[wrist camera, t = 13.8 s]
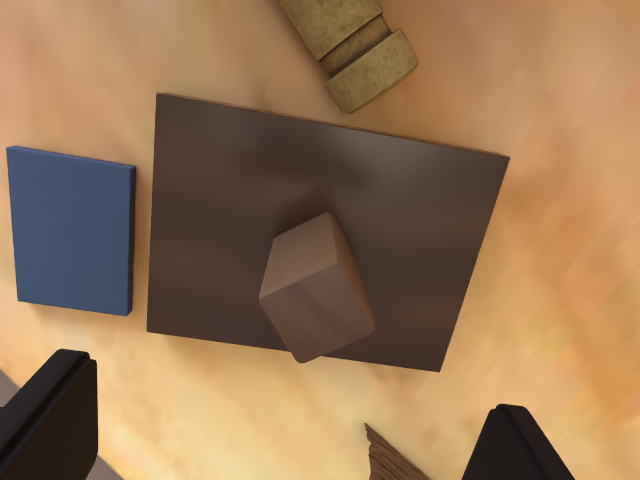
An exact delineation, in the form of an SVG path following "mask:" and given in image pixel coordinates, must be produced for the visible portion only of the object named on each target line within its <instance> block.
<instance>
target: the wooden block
mask: <svg viewBox="0 0 640 480" xmlns="http://www.w3.org/2000/svg"><path fill="white" fill-rule="evenodd" d="M259 301H260V304H261V305H262V307H263V309H264V310H265V312H266V313H267V315H268V317H269V318H270V320H271V321H272V323H273V325H274V326H275V328H276V329H277V331H278V333H279V334H280V336H281V337H282V339H283V341H284V342H285V344H286V345H287V347H288V349H289V350H290V352H291V353H292V355H293V357H294V358H295V360H296V361H297V362H299V363H306V362H308V361H311V360H313V359H315V358H317V357H320V356H322V355H324V354H327V353H329V352H331V351H333V350H336V349H338V348H340V347H343V346H345V345H347V344H349V343H352V342H354V341H356V340H359V339H361V338H363V337H366V336H368V335H370V334H371V333H372V332H373V331H374V321H373V317H372V313H371V310H370V306H369V302H368V299H367V295H366V291H365V288H364V284H363V281H362V277H361V273H360V270H359V266H358V262H357V259H356V258H355V256H354V254H353V252H352V250H351V248H350V246H349V244H348V242H347V240H346V238H345V236H344V234H343V232H342V230H341V228H340V226H339V224H338V222H337V220H336V218H335V216H334V215H333V214H332V213H330V212H326V213H323V214H321V215H319V216H317V217H315V218H313V219H311V220H309V221H307V222H305V223H303V224H301V225H298V226H296V227H294V228H292V229H290V230H288V231H286V232H284V233H282V234H280V235H278V236H276V237H275V239H274V240H273V243H272V247H271V251H270V255H269V259H268V263H267V267H266V270H265V274H264V278H263V282H262V286H261V290H260V294H259Z"/></svg>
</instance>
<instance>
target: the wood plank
mask: <svg viewBox="0 0 640 480" xmlns="http://www.w3.org/2000/svg"><path fill="white" fill-rule="evenodd" d="M365 425H366V430H367V439H368V440H369V441H370V442H371V445H370V446H369V458H370V459H369V460H370V466H371V474H370V478H369V480H429V479H428V478H427V477H426V476H425V475H424V474H423V473H422V472H421V471H420V470H419V469H417V468H416V467H414V466H413V465H412V464H410V463H409V462H408V461H407V460H406V459H405V458H404V457H403V456H402V455H401V454H400V453H399V452H398V451H397V450H396V449H395V448H394V447H392V446H391V445H390V444H389V443H388V442H387V441H386V440H385V439H384V438H383V437H382V436H380V435H379V434H378V433H377V432H375V431H374V430H373V429H372V428H371V427H369V426H368V425H367V424H366V423H365Z"/></svg>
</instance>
